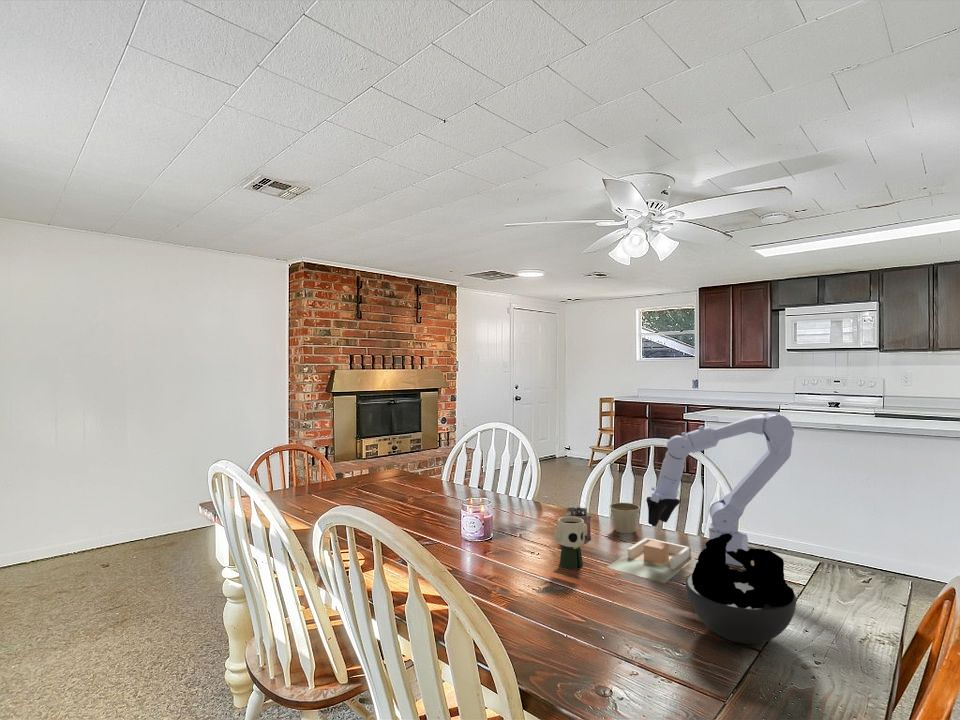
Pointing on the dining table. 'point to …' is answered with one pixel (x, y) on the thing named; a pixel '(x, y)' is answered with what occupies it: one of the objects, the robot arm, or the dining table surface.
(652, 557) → the block
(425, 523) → the dining table surface
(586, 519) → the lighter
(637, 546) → the cream u-shaped frame
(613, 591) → the dining table surface
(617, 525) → the flower pot
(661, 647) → the dining table surface
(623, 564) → the board
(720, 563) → the coal bowl
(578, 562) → the character mug
